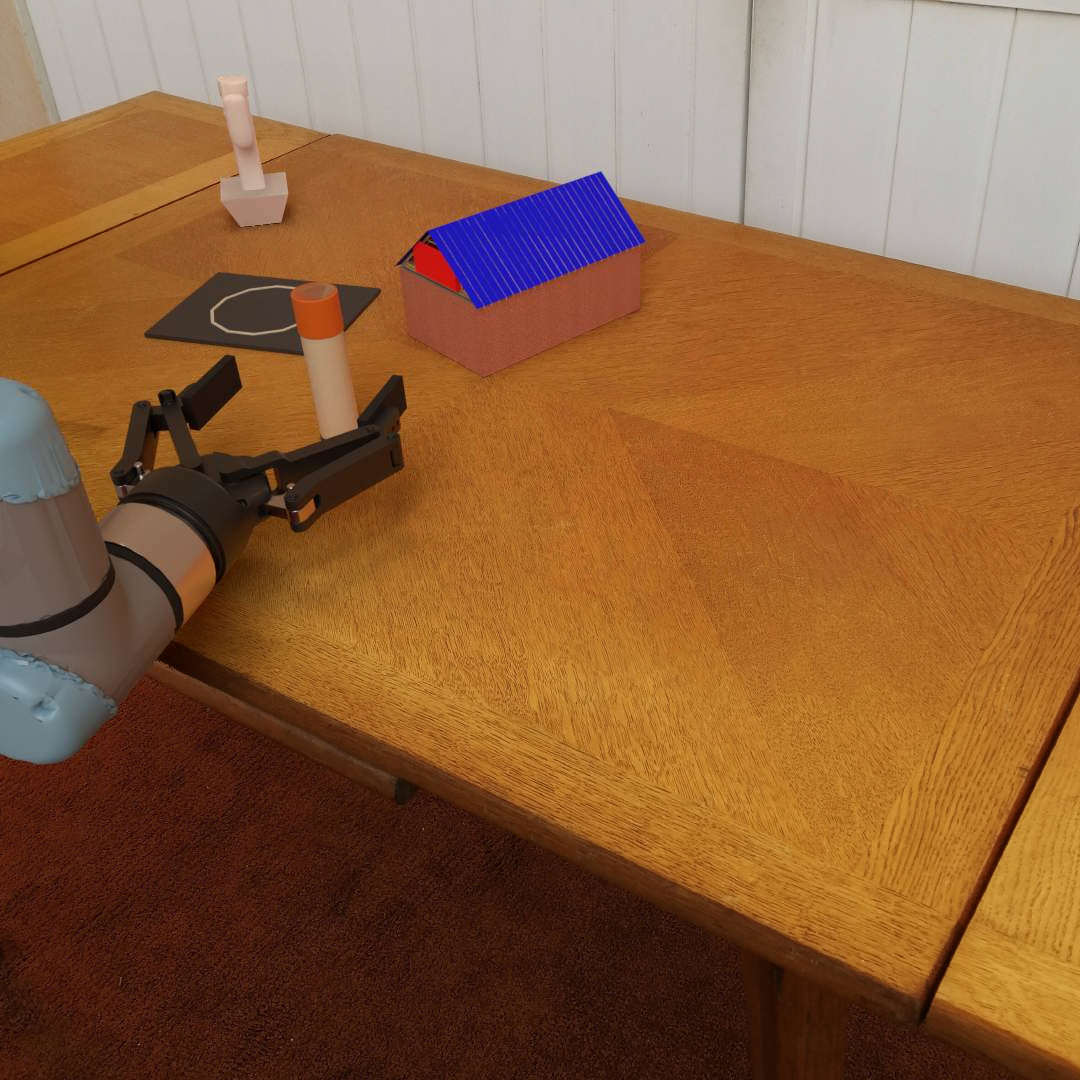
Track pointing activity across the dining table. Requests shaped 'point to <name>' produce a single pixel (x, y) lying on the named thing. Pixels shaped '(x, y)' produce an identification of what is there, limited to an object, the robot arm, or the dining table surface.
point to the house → (523, 275)
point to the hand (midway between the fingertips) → (316, 380)
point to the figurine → (248, 164)
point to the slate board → (249, 313)
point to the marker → (326, 356)
